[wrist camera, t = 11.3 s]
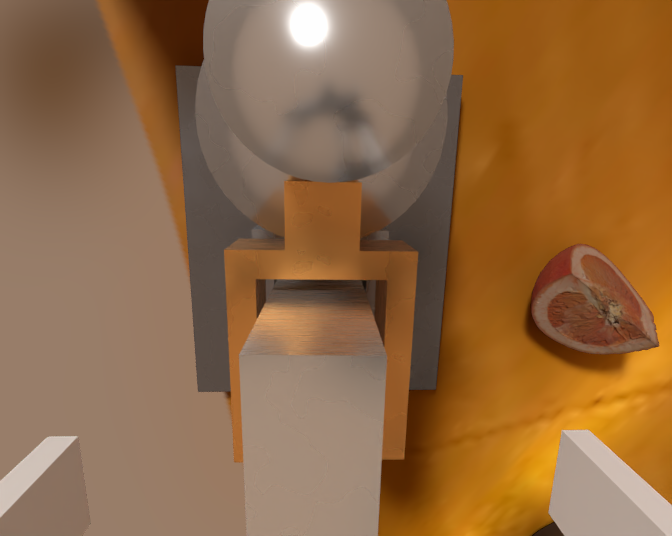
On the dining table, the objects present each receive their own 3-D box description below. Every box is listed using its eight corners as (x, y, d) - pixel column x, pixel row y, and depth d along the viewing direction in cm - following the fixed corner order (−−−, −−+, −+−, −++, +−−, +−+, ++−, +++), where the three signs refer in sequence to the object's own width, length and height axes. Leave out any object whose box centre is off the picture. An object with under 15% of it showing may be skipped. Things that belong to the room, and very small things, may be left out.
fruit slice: (633, 289, 28) (698, 311, 23) (570, 356, 29) (620, 391, 24) (555, 220, 27) (608, 229, 22) (492, 293, 28) (529, 317, 23)
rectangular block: (349, 338, 26) (377, 536, 12) (291, 338, 26) (246, 537, 12) (351, 253, 25) (387, 355, 10) (291, 252, 25) (238, 354, 10)
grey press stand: (429, 379, 29) (601, 681, 12) (204, 380, 28) (18, 710, 11) (455, 64, 24) (823, -245, 7) (182, 54, 23) (-228, -331, 6)
